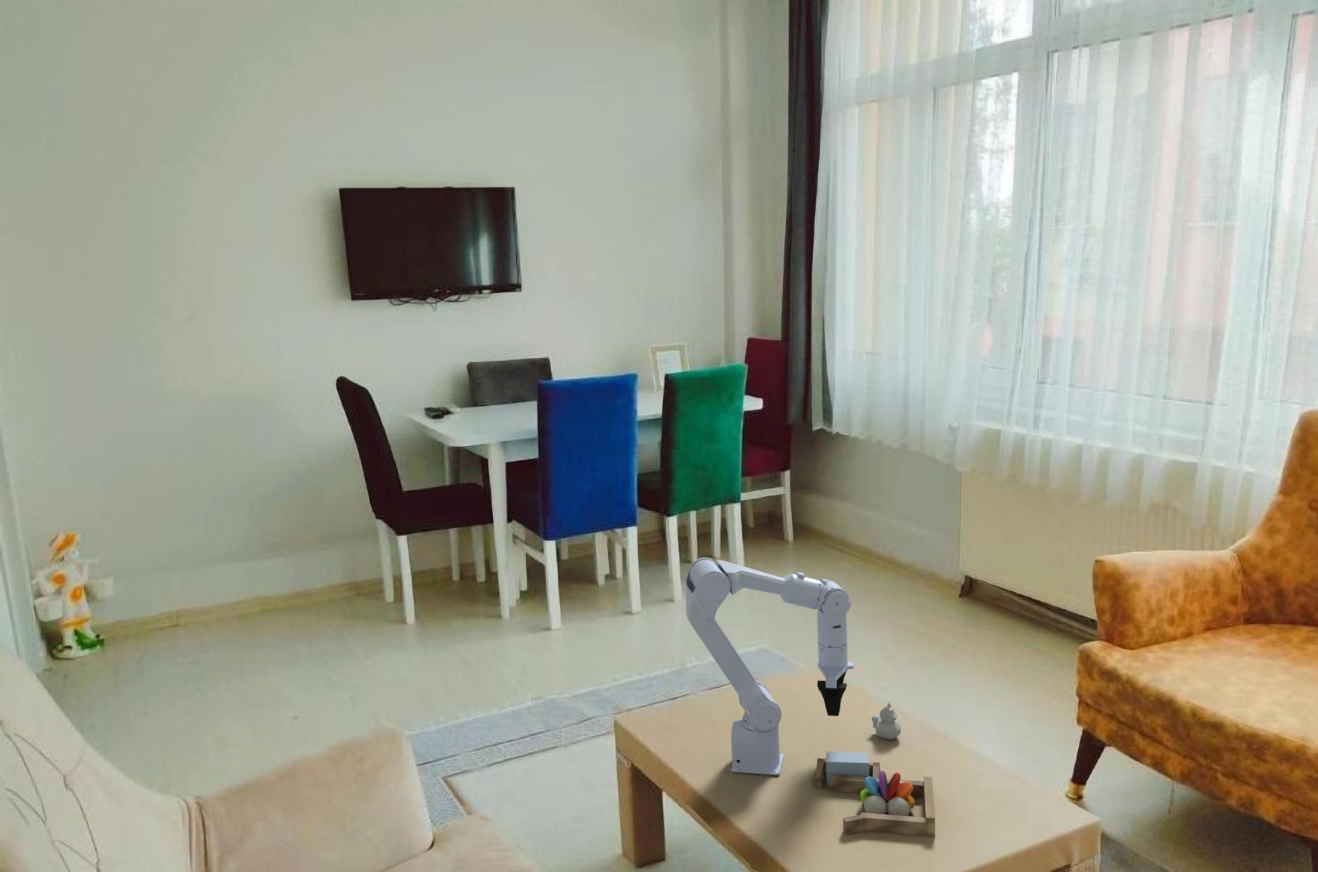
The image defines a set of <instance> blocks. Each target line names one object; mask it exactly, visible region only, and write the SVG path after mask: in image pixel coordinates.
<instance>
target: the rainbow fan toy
mask: <svg viewBox="0 0 1318 872" xmlns="http://www.w3.org/2000/svg"><path fill="white" fill-rule="evenodd" d="M901 778H902V777H901V774H900V773H899V772H895V773H893V775H892V776H891V778H890V779H891V780H890V782H889V783H887V779H888V778H887V774H886V772H885V771H884V770H880V772H879V780H876V779H875V778H873V776H870V775H869V777H866V778H865V785H866V786H865V789H864V790H862V791H861V793H859V799H860V801H861V802H862V803H863V808H864V811H865V813H874V814H886V813H888V815H898V816H910V813H911V810H912V809H914V807H915V805H916V801H915V799H914V797H911V793H912V791H913V786H912V784H911V783H908V782H904V783H903V782H900V780H902V779H901ZM886 801H887V802H886Z"/></svg>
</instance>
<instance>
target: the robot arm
mask: <svg viewBox="0 0 1318 872" xmlns="http://www.w3.org/2000/svg"><path fill="white" fill-rule="evenodd" d="M716 561H717V562H716ZM716 561H715V560H713V559H712V558H709V557H701V558H697V559H696V560H694V561H693V562H692V563H691V564H690V567H689V568H688V572H687V573H686V575H685V578H684V585H685V592H686V594H685V596H686V597H685V599H686V601H685V602H686V603H685V614H686V615H685V616H686V618H687V620H688V621H689V625H691V627H692V628H693V630H694V631H695V633H696V634H697V636H698V637H699V639H700V640H701V641H702V643H703V644H704V646H705V648H706V649H707V650H708V652H709V653H710V655H711V656H712V658H713V659H714V661H715V662H716V664H717V665H718V667H719V668H720V669H721V672H722V673H723V674H724V676H725V677H726V678H727V681H728V682H729V683H730V684H731V686H732V687H733V689H734V691H735V692H736V693H737V695H738V701H739V704H740V707H742V709H743V711H744V713H743V717H742V719H738V720H737V719H735V720H733V722H732V725H731V730H730V731H731V736H730V737H731V738H730V743H731V744H730V745H731V746H730V747H731V767H732V768H731V771H732V772H733V773H739V774H740V773H742V774H753V775H755V774H756V775H766V776H769V775H770V776H780V775H781V771H782V767H783V761H784V756H785V754H784V753H783V752H780V748H781V747H780V727H779V726H780V725H779V724H780V722H781V719H782V709H781V707H780V705H779V704H778V703H777V702H776V701H775V699H774V698H773V697H772V695H771V693H770V691H769V689H768V687H767V686H766V685H765V684H763V683H761V682H760V681H758V680H757V679H756V678H755V677H754V675H753V674H752V673H751V671H750V669H749V668H748V666H747V665H746V663H745V662H744V660H743V659H742V657H741V656H740V654H739V652H737V650H736V648H735V647H734V645H733V644H732V642H731V641H730V639H729V638H728V637H727V635H726V634H725V632H724V630H723V628H721V626H720V625H719V623H718V621H717V619H716V618H715V617H716V614H717V611H718V609H719V608H720V607H721V605H722V604H723V602H724V601H725V600H726V598H727V597H728V595H729V593H730V594H731V595H732V596H734V595H736V594H737V593H738V592H739V591H741V590H742V589H748V590H754V591H758V592H759V591H760V592H765V593H770V594H775V595H779V596H780V598H781V600H782V601H783V602H784V603H786V604H791V605H794V606H799V607H802V608H807V609H812V610H817V621H816V623H817V650H818V651H817V654H818V655H817V656H818V657H817V658H818V661H817V669H818V670H819V671H820V673H821V674H822V677H824V679H825V680H817V683H816V687H817V689H818V691H819V693H820V694H821V696H822V698H823V702H824V707H825V711H826V713H827V716H828V717H829V716H830V717H839V715H840V711H841V704H842V703H841V702H842V698H843V696H844V694H845V692H846V690H847V686H848V684H847V682H845V683H844V681H845V676H846V675H847V672H848V670H853V669H854V667H855V665H854V664H855V663H854V662H853V661H849V660H848V659H849V657H848V621H847V614H848V612H849V611H850V609H851V607H852V601H851V600H850V597H849V595H848V593H847V592H846V590H844V589H843V588H842V587H841V586H840V585H839V584H838V583H836V582H835V581H833V580H831V579H829V578H825V579H824V578H820V580H819V579H815V578H812V577H807V576H806V575H805V573H804V572H800V571H797V572H796V573H788V574H786V575H784V576H783V577H780V576H778V575H773V574H770V573H767V572H765V571H760V570H757V569H753V568H751V567H747V566H743V565H740V564H737V563H736V564H735V563H732V562H730V561H727V560H721V559H717V560H716Z"/></svg>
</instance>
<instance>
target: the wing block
mask: <svg viewBox="0 0 1318 872" xmlns="http://www.w3.org/2000/svg"><path fill="white" fill-rule="evenodd" d="M825 759H826V771H825V772H826V786H830V777H831V775H844V776H857V777H869V776H870V774H869V762H870V758H869V752H867V751H866V752H864V751H862V752H861V751H833V750H831V751H829V750H826V751H825Z"/></svg>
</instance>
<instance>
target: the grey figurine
mask: <svg viewBox="0 0 1318 872" xmlns="http://www.w3.org/2000/svg"><path fill="white" fill-rule="evenodd" d="M897 718H898V714H897V713H896V710H894V707H892V705H891V703H890V702H888V703H887V705H886V706H884V707H883V708H881V710H880V711H879V715H877V714H874V715H872V716H871V721H872V728H873V729H875V733H876V735H877V736H878V737H880V738H882V739H885V740H888V741H889V740H894V739H897V737H899V735H901V733H902V729H901V728H902V727H901V725H900V722H899V720H898V719H897Z"/></svg>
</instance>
